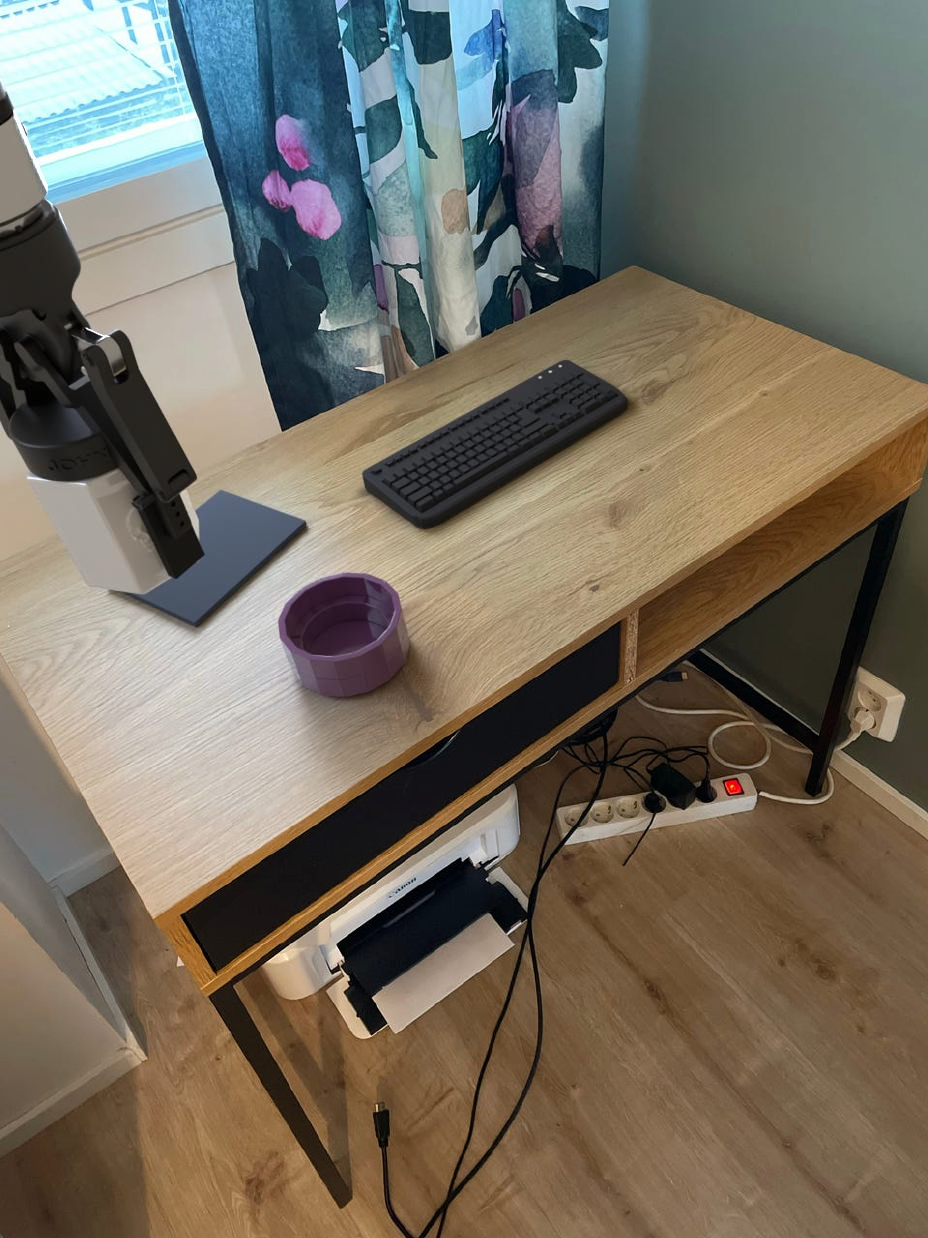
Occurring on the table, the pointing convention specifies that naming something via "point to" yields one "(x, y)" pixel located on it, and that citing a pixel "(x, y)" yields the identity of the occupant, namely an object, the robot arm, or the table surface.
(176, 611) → the placemat
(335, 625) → the bowl
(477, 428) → the keyboard
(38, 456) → the jar
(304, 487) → the table surface
